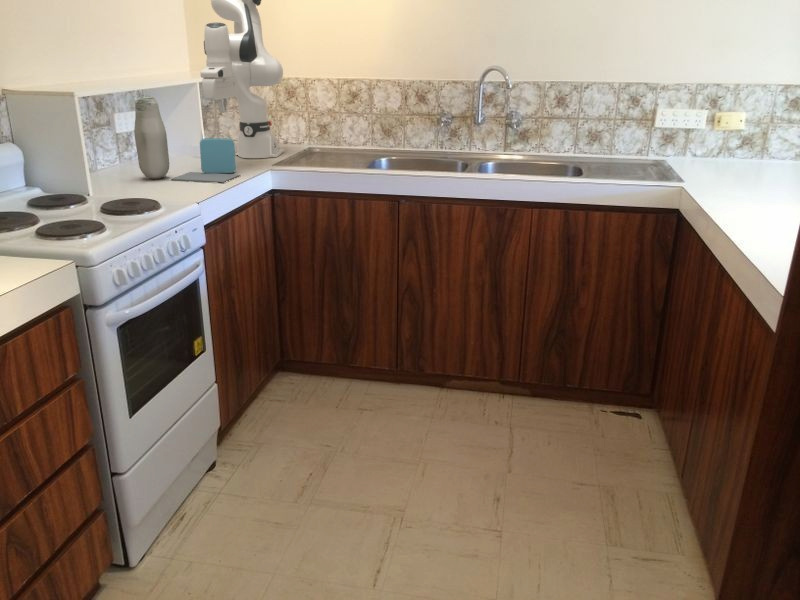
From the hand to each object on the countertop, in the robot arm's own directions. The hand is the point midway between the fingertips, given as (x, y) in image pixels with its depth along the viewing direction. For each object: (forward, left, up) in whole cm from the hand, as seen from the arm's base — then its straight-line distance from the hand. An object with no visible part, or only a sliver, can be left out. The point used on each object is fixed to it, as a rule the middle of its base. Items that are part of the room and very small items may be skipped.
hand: (223, 111), depth 245 cm
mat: (+17, 0, -21) cm, 27 cm away
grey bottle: (+21, -17, -21) cm, 35 cm away
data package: (+7, 0, -21) cm, 22 cm away
